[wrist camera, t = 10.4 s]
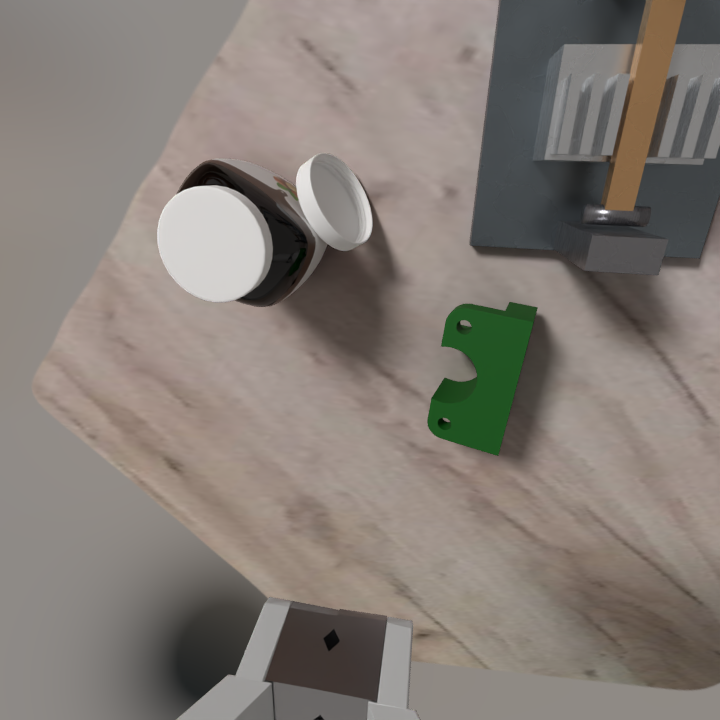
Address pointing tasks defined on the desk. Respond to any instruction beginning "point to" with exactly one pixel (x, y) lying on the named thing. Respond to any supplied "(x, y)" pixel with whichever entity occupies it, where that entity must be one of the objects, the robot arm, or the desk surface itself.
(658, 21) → the wooden handle
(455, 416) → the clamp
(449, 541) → the desk surface
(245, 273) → the chocolate spread jar
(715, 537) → the desk surface
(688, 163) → the heatsink mount
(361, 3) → the desk surface
